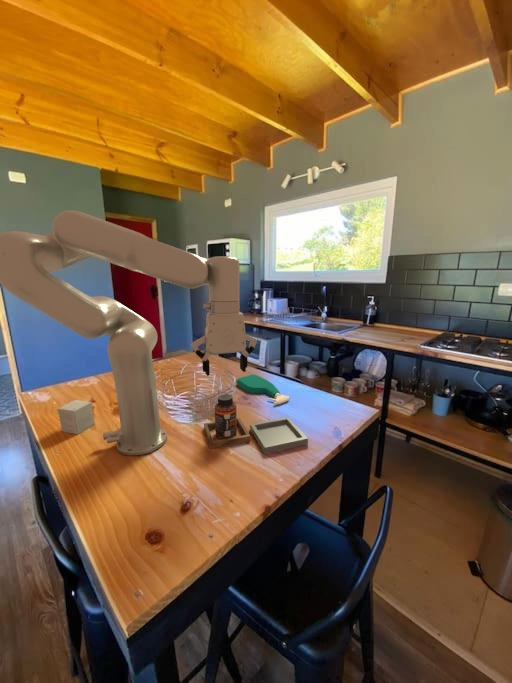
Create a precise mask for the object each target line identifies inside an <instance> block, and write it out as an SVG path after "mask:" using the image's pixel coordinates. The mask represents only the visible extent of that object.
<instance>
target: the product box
mask: <svg viewBox="0 0 512 683" xmlns="http://www.w3.org/2000/svg"><path fill="white" fill-rule="evenodd" d="M57 413H58V417H59V422H60V428H61V432H63V433H69V434H75V435H79V434H81V433H83V432H84V431H86V430H87V429H89V428H91V427H92V426H94V425H95V417H94V412H93V406H92V402H91V401H87V400H86V401H85V400H80V399H79V400H78V399H73V400H72V401H70V402H68V403H67V404H64V405H62V406H60V407H58V408H57Z"/></svg>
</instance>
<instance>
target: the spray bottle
mask: <svg viewBox="0 0 512 683" xmlns="http://www.w3.org/2000/svg"><path fill="white" fill-rule="evenodd" d="M236 385H237V387H239V388H240V389H242V391H245V392H247V393H248V394H253V395H254V394H256V395H257V394H260V395H261V394H266V395H268V396H269V397H267V400H269V401H271V402H273V406H278V405H281V404H284V403H287V402H289V401H290V396H289V395H284V394H281V392H280V391H279V389H278V387H276V386H275V385H274V384H273V383H272V382H270V381H269V380H267V379H266V378H263V377H261V376H259V375H257V374H248V375H246V376H241V377H238V378H237V380H236Z"/></svg>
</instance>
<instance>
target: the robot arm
mask: <svg viewBox="0 0 512 683" xmlns="http://www.w3.org/2000/svg"><path fill="white" fill-rule="evenodd" d="M91 257H92V258H96V259H97V260H100V261H104V262H107V263H110V264H113V265H116V266H119V267H121V268H122V267H123V268H124V269H128V270H130V271H132V272H137V273H141V274H143V275H146V276H149V277H152V278H155V279H158V280H161V281H163V282H166V283H170V284H173V285H176V286H179V287H182V288H186V289H192V290H193V289H197V288H200V287H201V286H208V296H209V298H208V299H209V300H208V302H206V303H203V310H207V311H209V312H207V314H206V318H205V326H204V327H205V328H204V335H202V337H200V338H198V339H196V340H194V341H193V342H191V343H190V347H191V348H192V350H193V352H194V353H195V355H196V356H198V358H200V360H202V372H203V373H205V375H206V376H207V377H209V376H210V368H211V367H210V360H209V358H210V356H211V355H223V354H234V353H235V354H236V353H241V354H240V355H239V370H241V371H242V372H243V373H246V372H247V370H246V368H248V358H249V357H250V355H251V353H252V352H253V351H254V350H255V347H256V346H257V343H258V340H257V339H256V338H255V337H252V336H250V335H248V334H246V324H245V318H244V313H243V312H241V311H240V309H241V308H240V307H241V306H240V289H241V288H240V282H241V281H240V272H241V271H240V269H241V268H240V261H239V259H238V258H237V257H235V256H222V255H221V256H212V257H205V256H199V255H197V254H195V253H193V252H189V251H186V250H184V249H181V248H178V247H175V246H172V245H170V244H167V243H164V242H162V241H158V240H157V239H154V238H151V237H148V236H146V235H145V234H143V233H141V232H138V231H135V230H133V229H129V228H127V227H123V226H122V225H118V224H116V223H113V222H110V221H106V220H105V219H102V218H99V217H96V216H93V215H90V214H88V213H85V212H82V211H79V210H74V209H73V210H72V209H70V210H67V209H66V210H63V211H61V212H60V213H58V214H57V215H56V216H55V218H54V219H53V222H52V232H49V233H46V234H44V235H42V234H36V233H32V232H31V233H30V232H28V231H21V230H20V231H18V230H11V231H5V232H1V233H0V285H1V286H2V287H3V288H4V289H5V290H6V291H8V292H9V293H11V294H12V295H13V296H14V297H16V298H18V299H19V300H21V301H22V302H24V303H26V304H28V305H30V306H31V307H33V308H34V309H37V310H39V311H40V312H41V313H43V314H45V315H46V316H48V318H50V319H52V320H54V321H55V322H58V323H59V324H61V325H62V326H64V327H65V328H67V329H69V330H70V331H72V332H74V333H76V334H77V335H78V336H80V337H82V338H86V339H92V340H93V339H98V338H101V337H103V336H105V335H106V336H107V337H109V340H108V343H107V357H108V359H109V364H110V367H111V370H112V374H113V381H114V388H115V393H116V400H117V407H118V408H117V409H118V415H119V424H120V428H117V429H115V430H112V431H111V430H110V431H105V432H103V433H102V439H103V440H104V441H106V442H107V444H111V443H115V442H116V444H115V445H116V450H117V451H118V452H119V453H120V454H122V455H125V456H141V455H146V454H149V453H152V452H155V450H158V449H160V447H162V446H163V445H164V444H165V443H166V441H167V440H168V432H167V431H166V429H164V428H163V427H161V422H160V421H161V419H160V410H159V400H158V389H157V383H156V373H155V367H154V362H153V354H152V351H153V350H154V348H155V347H156V344H157V343H158V332H157V330H156V328H155V327H154V326H155V325H153V324H152V323H151V322H150V321H148V320H147V319H146V318H144V317H142V316H141V315H139V314H138V313H136V312H134V311H133V310H132V309H131V308H128V307H127V306H125V305H124V304H122V303H121V302H120V301H117V300H116V299H114V298H112V297H108V296H105V295H103V296H102V295H96V296H95V295H94V296H91V295H89V294H86V293H84V292H83V291H80V290H79V289H78V288H76V287H74V286H72V284H70V283H69V282H67V281H65V280H63V279H61V278H59V277H57V276H55V275H53V274H52V273H54V272H58V271H61V270H64V269H66V268H68V267H70V266H74V265H76V264H77V263H79V262H82V261H84V260H87V259H88V258H91ZM247 341H248V342H249V344H248V346H247ZM202 344H204V347H205V349H204V351H201V350H200V349H199V347H200V345H202Z"/></svg>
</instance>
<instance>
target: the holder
mask: <svg viewBox="0 0 512 683" xmlns="http://www.w3.org/2000/svg"><path fill="white" fill-rule="evenodd" d="M236 418H237V425H238V427H239V429H240V430H241V432H242V434H243V435H238V436H234V437H233V438H228V439H218V440H214V439H213V437H212V434H211V431H210V429H215V421H212V422H211V421H210V422H205V423H203V428H204V432H205V434H206V438H207V440H208V444H209V447H210V449H212V450H213V449H217V448H221V447H227V446H232V445H237V444H242V443H246V442H251V434H250V433H249V431H248V429H247V428H246V426H245V425H244V423H243V421H242V419H241V418H240V417H238V416H237V417H236Z"/></svg>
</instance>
